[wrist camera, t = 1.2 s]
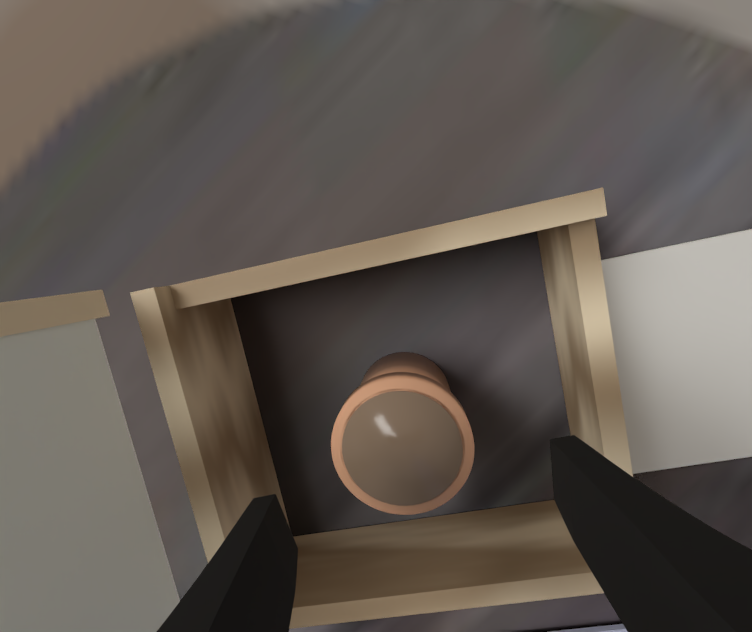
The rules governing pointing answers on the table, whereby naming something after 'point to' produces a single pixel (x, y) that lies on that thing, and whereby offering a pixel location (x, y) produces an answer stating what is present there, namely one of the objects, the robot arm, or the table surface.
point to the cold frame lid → (71, 481)
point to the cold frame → (412, 537)
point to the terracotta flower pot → (403, 437)
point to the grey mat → (684, 350)
